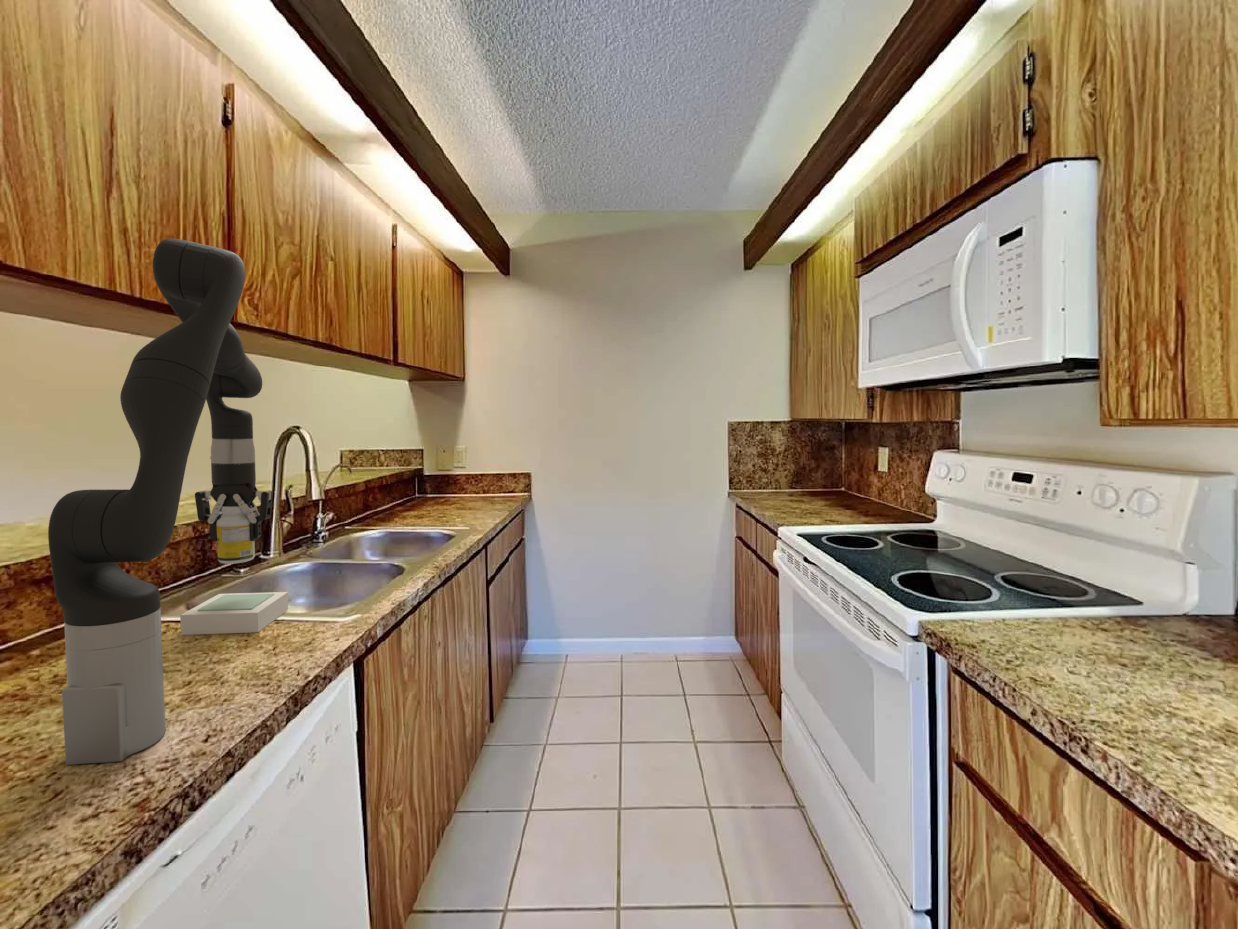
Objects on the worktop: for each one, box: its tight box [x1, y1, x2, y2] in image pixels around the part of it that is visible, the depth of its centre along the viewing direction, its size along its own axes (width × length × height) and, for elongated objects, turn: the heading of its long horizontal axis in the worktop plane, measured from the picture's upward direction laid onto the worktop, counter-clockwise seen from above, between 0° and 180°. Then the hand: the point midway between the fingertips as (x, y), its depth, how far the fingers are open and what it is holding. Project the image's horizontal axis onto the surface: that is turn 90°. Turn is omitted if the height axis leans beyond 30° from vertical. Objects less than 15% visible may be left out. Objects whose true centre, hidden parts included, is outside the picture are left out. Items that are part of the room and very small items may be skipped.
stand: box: [179, 591, 289, 636], centre depth 118 cm, size 14×14×4 cm
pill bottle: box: [216, 506, 256, 565], centre depth 117 cm, size 6×6×12 cm
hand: (235, 540), depth 117 cm, fingers closed on pill bottle, 6 cm apart
